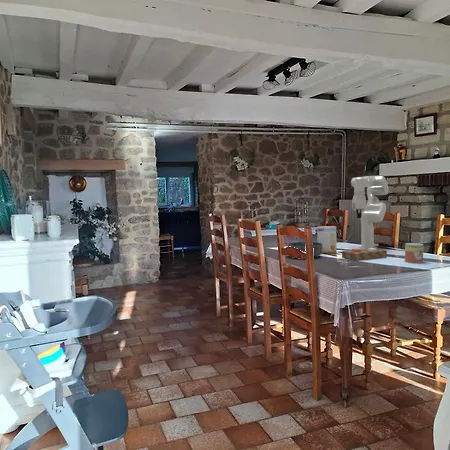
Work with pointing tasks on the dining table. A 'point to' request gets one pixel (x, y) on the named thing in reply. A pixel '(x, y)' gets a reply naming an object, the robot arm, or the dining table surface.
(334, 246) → the cracker box
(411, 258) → the canned food
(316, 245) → the bundt pan
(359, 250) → the salmon pink cube
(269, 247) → the dining table surface
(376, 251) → the block
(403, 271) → the dining table surface
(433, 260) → the dining table surface
